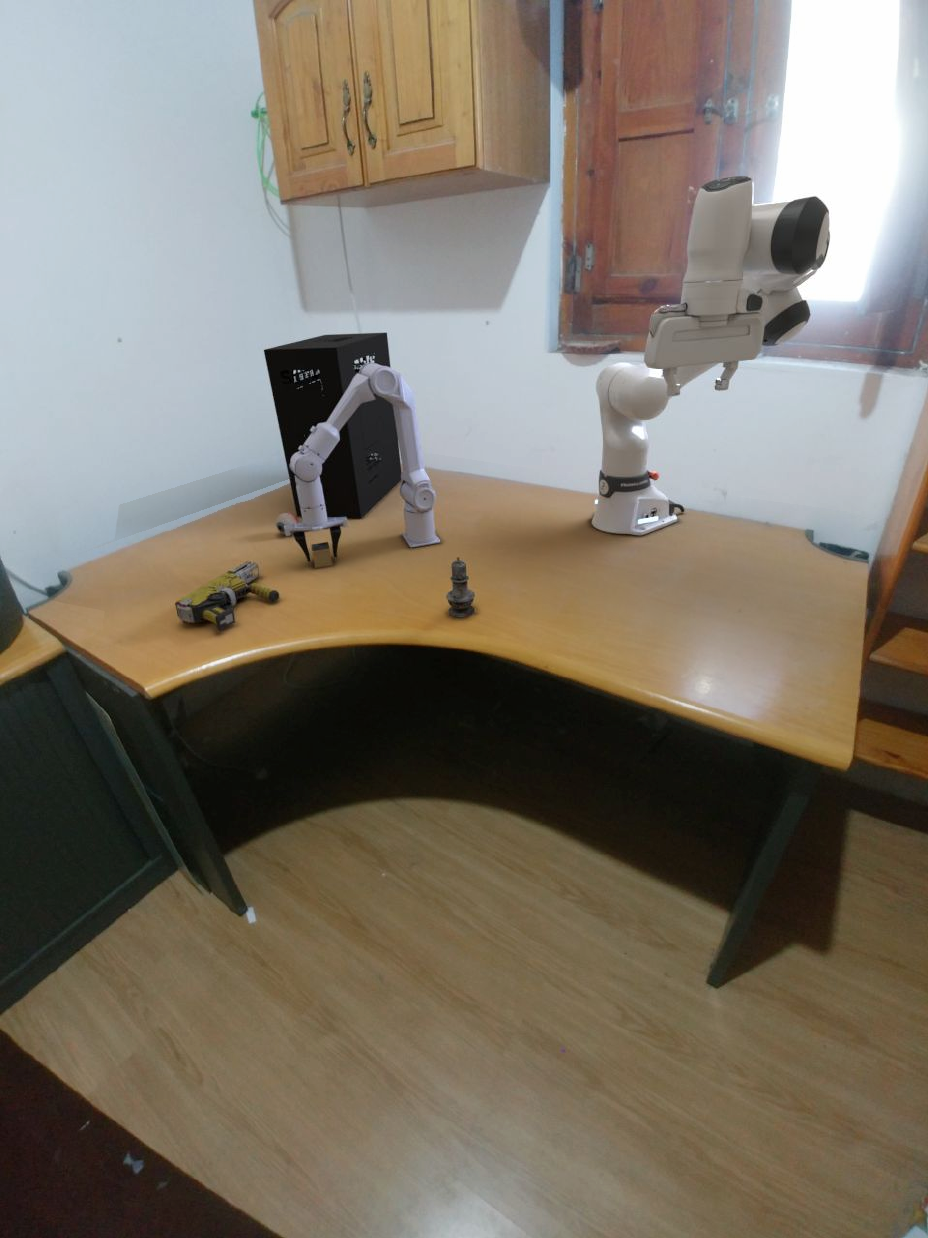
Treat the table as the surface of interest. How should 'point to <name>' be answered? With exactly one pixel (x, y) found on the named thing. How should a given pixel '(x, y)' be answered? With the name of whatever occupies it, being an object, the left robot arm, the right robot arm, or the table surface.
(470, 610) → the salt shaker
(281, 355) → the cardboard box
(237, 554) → the table surface
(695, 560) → the table surface
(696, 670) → the table surface
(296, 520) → the eyeball
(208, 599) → the toy gun
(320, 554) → the block
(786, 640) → the table surface
